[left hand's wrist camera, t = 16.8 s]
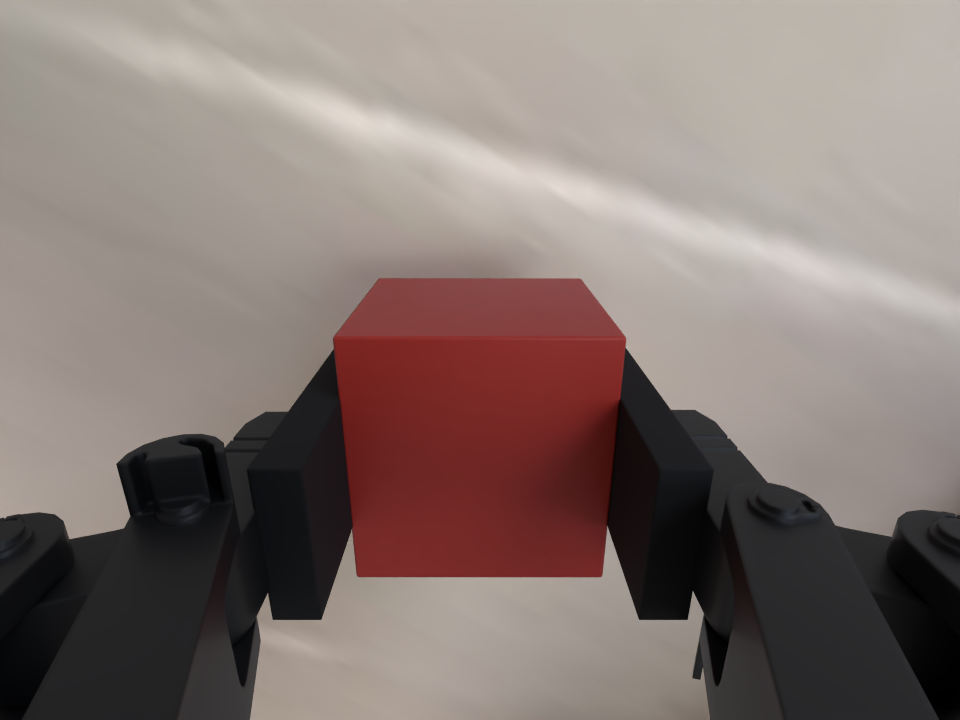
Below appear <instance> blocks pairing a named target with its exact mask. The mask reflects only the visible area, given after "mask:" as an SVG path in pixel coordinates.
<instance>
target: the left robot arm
mask: <svg viewBox="0 0 960 720" xmlns="http://www.w3.org/2000/svg"><path fill="white" fill-rule="evenodd" d="M116 465H117V468H118V472H119V476H120V479H121V483H122V487H123V490H124V494H125V498H126V501H127V505H128V509H129V512H130V516H131V517H130V518H129V520H128V522H127V524H126V526H125V528H124V529H120V530H116V531H111V532H106V533H101V534H95V535H90V536H85V537H80V538H75V539H69V537H68V534H67V531H66V528H65V524H64V521H63V520H61V519H60V518H59V517H57V516H56V515H55V514H47V513H40V512H39V513H30V514H17V515H12V516H8V517H6V518H5V519H4V518H0V720H250V714H251V707H252V700H253V692H254V685H255V678H256V670H257V663H258V656H259V648H260V633H259V627H258V622H257V614H258V612H259V610H260V608H261V606H262V604H263V602H264V600H265V597H266V595H267V593H268V595H269V601H270V606H271V612H272V618H273V620H321V619H322V616H323V613H324V610H325V607H326V604H327V601H328V598H329V595H330V592H331V589H332V586H333V583H334V580H335V577H336V574H337V571H338V569H339V566H340V563H341V560H342V557H343V554H344V551H345V548H346V545H347V542H348V539H349V536H350V533H351V530H352V527H353V525H352V515H351V505H350V495H349V485H348V475H347V465H346V455H345V445H344V435H343V425H342V415H341V405H340V399H339V393H338V383H337V373H336V363H335V353H334V350H333V351H332V352H331V354H330V355H329V356H328V358H327V359H326V361H325V362H324V363H323V365H322V366H321V367H320V369H319V370H318V372H317V373H316V374H315V376H314V377H313V378H312V380H311V381H310V383H309V384H308V385H307V387H306V388H305V390H304V391H303V392H302V394H301V395H300V396H299V398H298V399H297V401H296V402H295V403H294V405H293V406H292V407H291V409H290V410H289V412H265V413H263V414H261V415H260V416H258V417H256V418H255V419H253V420H251V421H249V422H248V423H246V424H245V425H244V426H243V427H242V428H241V430H240V431H239V432H238V433H237V434H236V436H235V437H234V440H233V441H230V443H229V444H228V445H227V446H226V447H224V443H223V442H222V441H220V440H219V439H218V438H216V437H214V436H209V435H204V434H183V435H178V436H172V437H167V438H162V439H159V440H157V441H154V442H151V443H148V444H145V445H143V446H141V447H139V448H137V449H135V450H133V451H132V452H130V453H128V454H126V455H125V456H124V457H123V458H122V459H121V460H120V461H119V462H118V463H117V464H116ZM607 526H608V529H609V532H610V535H611V538H612V541H613V543H614V546H615V549H616V552H617V555H618V558H619V561H620V564H621V567H622V570H623V573H624V576H625V579H626V582H627V585H628V588H629V591H630V594H631V597H632V600H633V603H634V606H635V609H636V612H637V615H638V618H639V620H688V615H689V609H690V603H691V598H692V592H694V594H695V596H696V598H697V600H698V602H699V604H700V606H701V608H702V610H703V612H704V616H703V622H702V627H701V632H700V637H699V643H698V648H697V653H696V658H695V664H694V670H693V678H694V679H699V680H700V678H701V673H702V668H703V669H704V676H705V684H706V691H707V698H708V706H709V713H710V720H960V515H958V516H955V514H952V513H947V512H937V511H928V510H918V511H910V512H906V513H905V514H903V515H902V516H901V517H899V518H898V520H897V523H896V526H895V529H894V532H893V535H892V537H889V536H884V535H879V534H873V533H868V532H863V531H858V530H852V529H847V528H843V527H839V526H835V525H834V523H833V521H832V519H831V517H830V516H829V514H828V513H827V512H826V511H825V510H824V509H823V507H822V506H821V505H820V504H819V503H817V502H815V501H814V500H812V499H811V498H809V497H808V496H806V495H805V494H803V493H800V492H798V491H795V490H793V489H790V488H788V487H785V486H780V485H776V484H771V483H767V482H766V480H765V479H764V478H763V477H762V476H761V475H760V473H759V472H758V471H757V470H756V469H755V468H754V466H753V465H752V464H751V463H750V462H749V461H748V459H747V458H746V457H745V456H744V455H743V454H742V452H741V451H738V450H737V447H736V445H735V444H734V443H733V442H732V441H731V440H730V439H727V435H726V434H725V433H724V431H723V430H722V429H721V428H720V427H719V426H718V424H717V423H716V422H715V421H713V420H711V419H709V418H708V417H706V416H704V415H703V414H701V413H699V412H697V411H696V410H670V408H669V407H668V405H667V404H666V403H665V401H664V400H663V399H662V397H661V396H660V394H659V393H658V392H657V390H656V389H655V388H654V386H653V385H652V383H651V382H650V381H649V379H648V378H647V377H646V375H645V374H644V372H643V371H642V370H641V368H640V367H639V366H638V364H637V363H636V361H635V360H634V359H633V357H632V356H631V354H630V353H629V352H628V350H627V349H626V348H625V356H624V366H623V376H622V386H621V396H620V405H619V415H618V425H617V435H616V445H615V454H614V464H613V474H612V484H611V494H610V504H609V514H608V524H607Z"/></svg>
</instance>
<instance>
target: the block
mask: <svg viewBox="0 0 960 720" xmlns="http://www.w3.org/2000/svg"><path fill="white" fill-rule="evenodd" d="M333 344H334V353H335V363H336V373H337V383H338V393H339V399H340V405H341V415H342V425H343V435H344V445H345V455H346V465H347V475H348V485H349V495H350V505H351V515H352V525H353V527H352V533H353V543H354V553H355V563H356V573H357V576H358V577H602V574H603V564H604V554H605V544H606V534H607V524H608V514H609V504H610V494H611V484H612V474H613V464H614V454H615V445H616V435H617V425H618V415H619V405H620V396H621V386H622V376H623V366H624V356H625V346H626V337H625V336H624V334H623V333H622V332H621V330H620V329H619V328H618V327H617V325H616V324H615V323H614V321H613V320H612V319H611V317H610V316H609V315H608V314H607V312H606V311H605V310H604V308H603V307H602V306H601V304H600V303H599V302H598V301H597V299H596V298H595V297H594V295H593V294H592V293H591V291H590V290H589V289H588V288H587V286H586V285H585V284H584V282H583V281H582V280H581V279H422V278H380V279H378V280H377V282H376V283H375V284H374V286H373V287H372V288H371V289H370V291H369V292H368V293H367V295H366V296H365V297H364V298H363V300H362V301H361V302H360V304H359V305H358V306H357V308H356V309H355V310H354V311H353V313H352V314H351V315H350V317H349V318H348V319H347V320H346V322H345V323H344V324H343V326H342V327H341V328H340V329H339V331H338V332H337V333H336V335H335V336H334V338H333Z"/></svg>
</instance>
